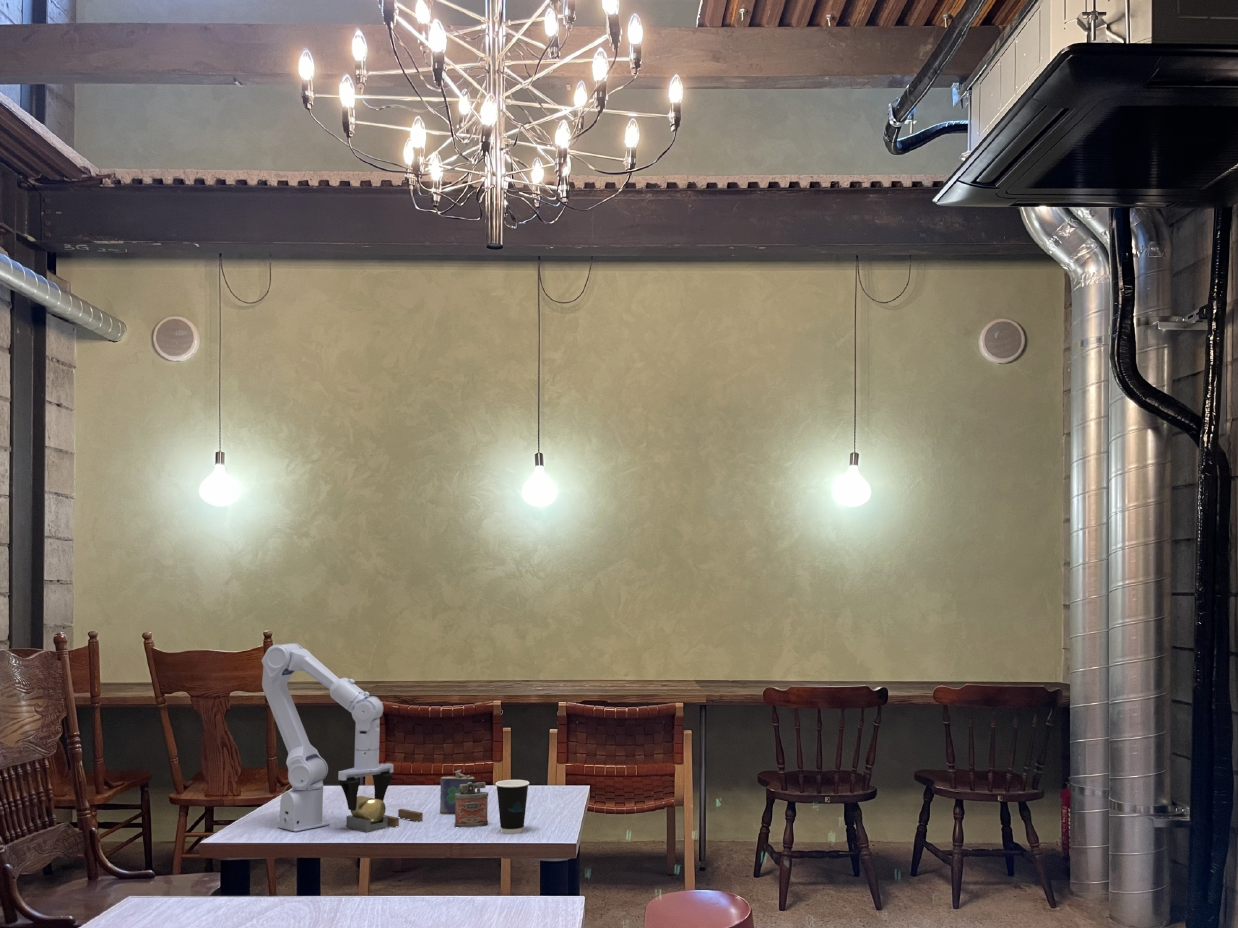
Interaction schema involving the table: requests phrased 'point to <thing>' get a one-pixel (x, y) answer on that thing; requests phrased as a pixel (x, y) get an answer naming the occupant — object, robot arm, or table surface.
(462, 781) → the flask
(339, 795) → the table surface
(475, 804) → the lighter
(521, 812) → the dixie cup
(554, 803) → the table surface
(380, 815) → the gold capsule
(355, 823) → the v block
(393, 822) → the brown u-shaped block
